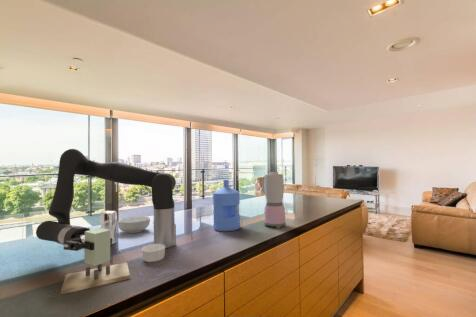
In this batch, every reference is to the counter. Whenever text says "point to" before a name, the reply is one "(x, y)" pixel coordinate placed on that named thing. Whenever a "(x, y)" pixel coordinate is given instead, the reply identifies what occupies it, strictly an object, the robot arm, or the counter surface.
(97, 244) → the green block
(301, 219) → the counter surface
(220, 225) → the water jug
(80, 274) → the peg board
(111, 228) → the beer glass
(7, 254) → the counter surface
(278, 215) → the blender
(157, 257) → the ramekin
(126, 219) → the cereal bowl
